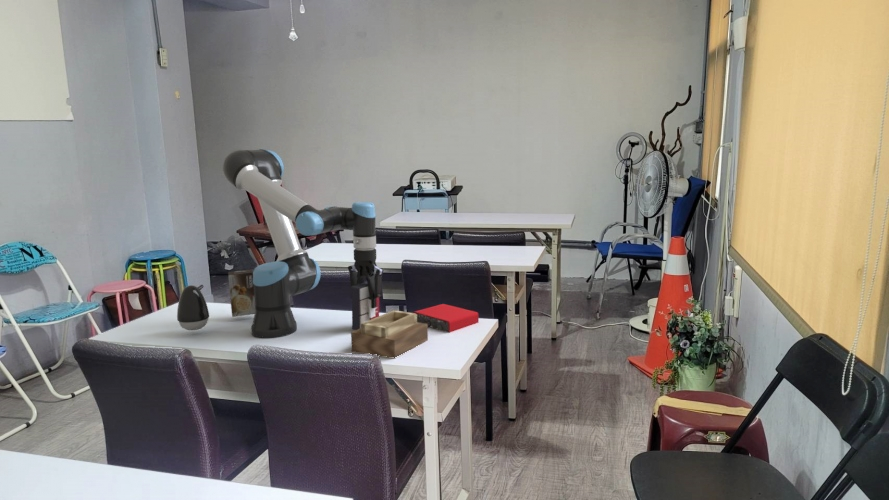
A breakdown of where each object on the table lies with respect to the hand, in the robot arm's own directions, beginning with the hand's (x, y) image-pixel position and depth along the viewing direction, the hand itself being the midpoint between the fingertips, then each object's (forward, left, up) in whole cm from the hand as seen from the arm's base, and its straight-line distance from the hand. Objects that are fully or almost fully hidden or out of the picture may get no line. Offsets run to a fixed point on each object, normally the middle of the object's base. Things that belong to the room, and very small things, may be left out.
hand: (366, 315), depth 203 cm
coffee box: (-53, -7, -5) cm, 53 cm away
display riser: (+18, -12, -4) cm, 22 cm away
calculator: (-1, 0, -4) cm, 4 cm away
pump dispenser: (-54, -28, -5) cm, 61 cm away
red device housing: (+22, +16, -5) cm, 27 cm away
